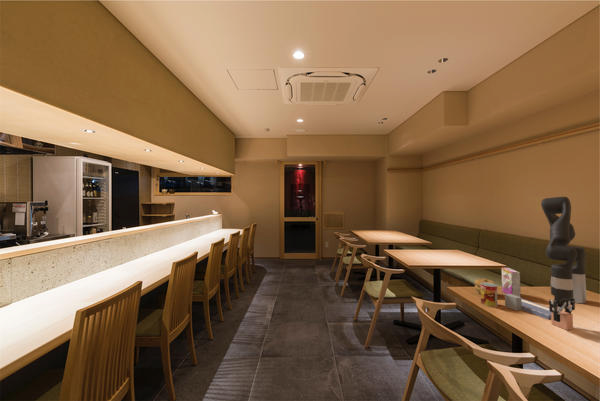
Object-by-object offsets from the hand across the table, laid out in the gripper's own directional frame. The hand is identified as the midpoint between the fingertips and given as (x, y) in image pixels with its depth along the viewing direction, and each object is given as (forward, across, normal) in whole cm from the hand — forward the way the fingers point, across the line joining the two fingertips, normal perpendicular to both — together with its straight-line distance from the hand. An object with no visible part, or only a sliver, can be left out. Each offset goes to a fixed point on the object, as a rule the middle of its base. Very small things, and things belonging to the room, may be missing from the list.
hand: (562, 319), depth 119 cm
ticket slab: (+3, -8, -17) cm, 19 cm away
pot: (+4, -6, -43) cm, 44 cm away
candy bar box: (+4, -20, -37) cm, 42 cm away
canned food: (+4, +8, -30) cm, 31 cm away
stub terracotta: (+3, 0, 0) cm, 3 cm away
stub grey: (+3, 0, -22) cm, 22 cm away
